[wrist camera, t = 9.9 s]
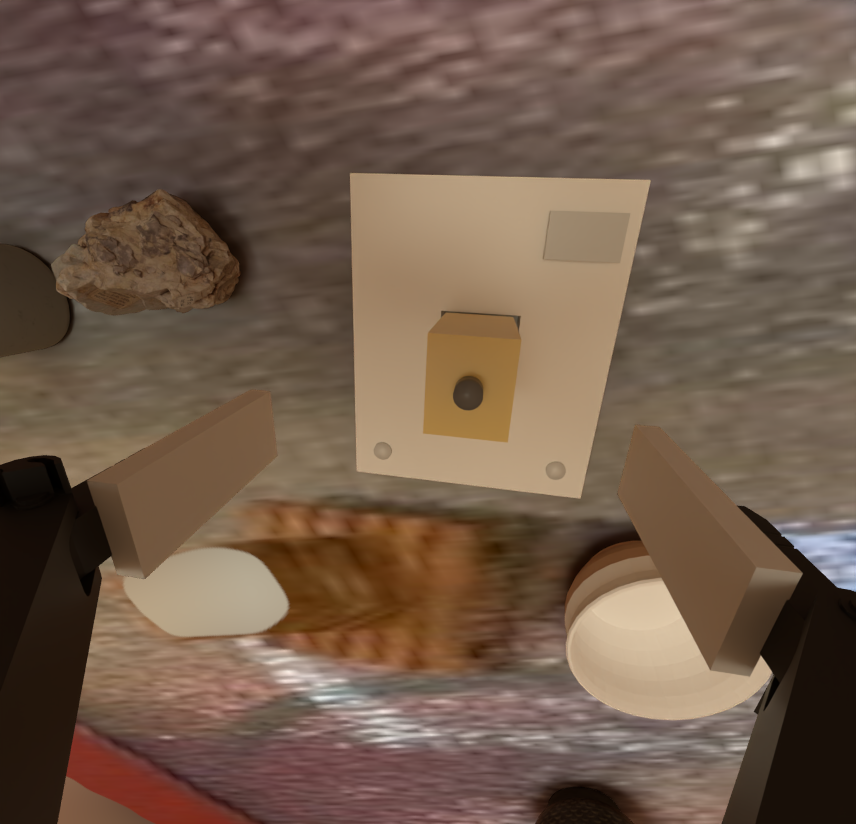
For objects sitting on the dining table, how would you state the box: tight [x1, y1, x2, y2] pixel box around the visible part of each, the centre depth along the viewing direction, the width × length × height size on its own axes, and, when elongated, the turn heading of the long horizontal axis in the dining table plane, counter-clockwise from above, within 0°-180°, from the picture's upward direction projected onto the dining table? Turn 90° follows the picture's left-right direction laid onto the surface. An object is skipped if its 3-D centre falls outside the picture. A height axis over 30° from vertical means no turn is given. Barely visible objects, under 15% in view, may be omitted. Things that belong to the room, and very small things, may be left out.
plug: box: [423, 312, 521, 443], centre depth 27 cm, size 6×5×13 cm
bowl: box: [565, 541, 772, 720], centre depth 36 cm, size 16×16×8 cm
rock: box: [51, 189, 241, 315], centre depth 31 cm, size 9×12×10 cm
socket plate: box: [350, 173, 651, 498], centre depth 32 cm, size 24×20×4 cm
